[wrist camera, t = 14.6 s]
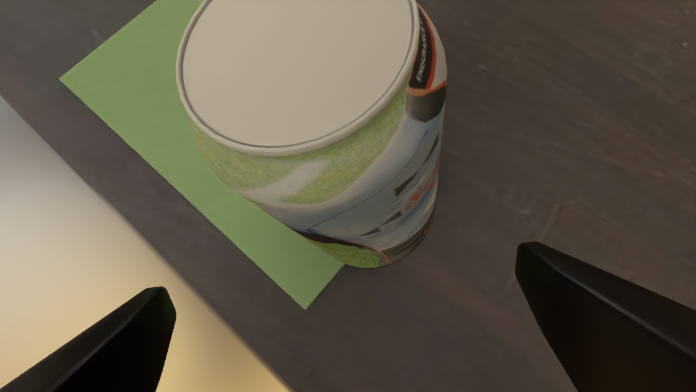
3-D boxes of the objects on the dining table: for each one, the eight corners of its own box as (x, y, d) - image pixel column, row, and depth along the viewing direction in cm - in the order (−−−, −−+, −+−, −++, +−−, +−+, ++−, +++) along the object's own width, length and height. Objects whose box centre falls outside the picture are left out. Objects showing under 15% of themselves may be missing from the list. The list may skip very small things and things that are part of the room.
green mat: (306, 310, 17) (305, 310, 16) (62, 81, 21) (58, 78, 21) (434, 159, 19) (435, 156, 19) (187, -19, 23) (184, -23, 23)
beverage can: (438, 263, 17) (595, 159, 5) (283, 280, 17) (116, 211, 5) (417, 144, 19) (499, -118, 7) (279, 159, 19) (148, -77, 7)
